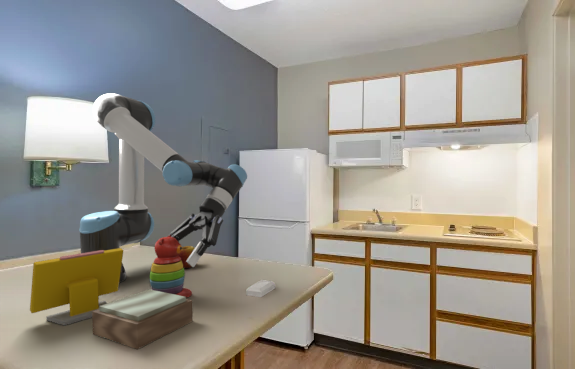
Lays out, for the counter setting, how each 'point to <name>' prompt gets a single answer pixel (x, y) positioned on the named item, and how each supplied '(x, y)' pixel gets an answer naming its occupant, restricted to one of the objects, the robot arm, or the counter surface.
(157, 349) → the counter surface
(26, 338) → the counter surface
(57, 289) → the toy computer monitor
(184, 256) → the fruit
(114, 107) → the robot arm
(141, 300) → the plinth
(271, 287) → the white beveled block
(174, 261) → the stacking bear
